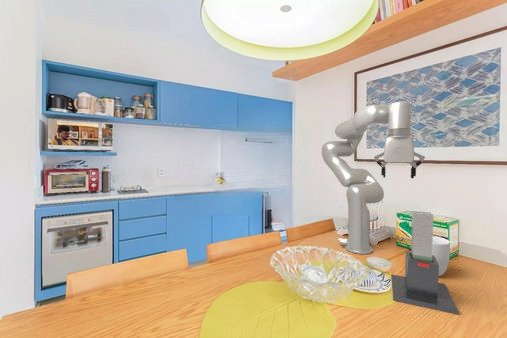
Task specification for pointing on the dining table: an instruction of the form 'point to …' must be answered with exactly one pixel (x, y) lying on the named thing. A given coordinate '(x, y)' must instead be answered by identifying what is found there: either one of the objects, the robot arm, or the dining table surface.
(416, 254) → the post
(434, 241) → the mug
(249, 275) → the dining table surface
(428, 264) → the stand
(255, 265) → the dining table surface
